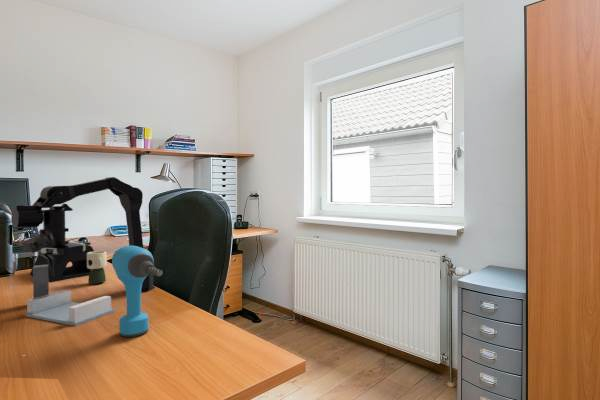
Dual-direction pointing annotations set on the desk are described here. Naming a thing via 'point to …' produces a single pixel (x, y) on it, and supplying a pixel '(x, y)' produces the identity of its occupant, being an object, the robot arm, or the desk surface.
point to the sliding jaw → (48, 301)
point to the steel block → (40, 280)
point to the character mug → (96, 266)
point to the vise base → (63, 314)
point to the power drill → (133, 286)
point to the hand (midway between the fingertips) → (55, 274)
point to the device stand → (71, 272)
